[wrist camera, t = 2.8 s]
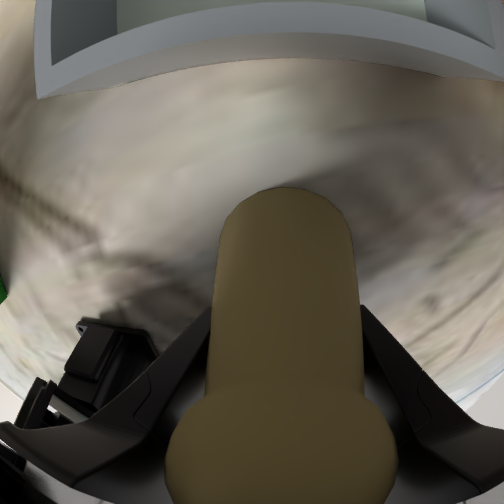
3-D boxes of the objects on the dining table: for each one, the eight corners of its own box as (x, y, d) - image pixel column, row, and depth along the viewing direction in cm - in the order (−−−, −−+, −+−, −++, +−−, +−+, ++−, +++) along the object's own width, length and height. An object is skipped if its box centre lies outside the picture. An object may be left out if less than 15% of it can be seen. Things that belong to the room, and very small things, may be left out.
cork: (371, 207, 11) (488, 488, 2) (325, 309, 14) (339, 526, 5) (231, 172, 11) (83, 501, 2) (212, 286, 14) (149, 510, 5)
